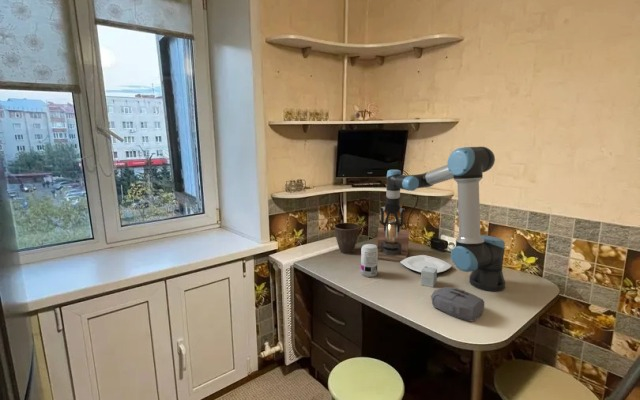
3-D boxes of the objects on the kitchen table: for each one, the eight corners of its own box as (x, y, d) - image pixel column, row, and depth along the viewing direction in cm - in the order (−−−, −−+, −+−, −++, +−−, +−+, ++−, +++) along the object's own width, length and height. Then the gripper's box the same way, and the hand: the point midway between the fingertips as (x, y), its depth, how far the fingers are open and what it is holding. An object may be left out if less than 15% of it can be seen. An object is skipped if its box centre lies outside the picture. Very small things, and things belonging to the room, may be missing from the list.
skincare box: (433, 287, 159) (434, 272, 157) (420, 284, 162) (421, 270, 161) (436, 282, 164) (437, 268, 162) (423, 280, 167) (424, 265, 166)
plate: (457, 269, 179) (458, 266, 178) (427, 280, 167) (428, 276, 166) (423, 256, 198) (423, 252, 197) (393, 264, 186) (394, 261, 185)
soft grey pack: (487, 312, 138) (441, 295, 152) (489, 293, 136) (442, 277, 150) (471, 327, 128) (423, 307, 142) (473, 306, 126) (424, 288, 140)
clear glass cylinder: (395, 253, 196) (396, 222, 192) (385, 252, 198) (386, 222, 194) (396, 250, 201) (397, 220, 197) (387, 249, 203) (388, 219, 199)
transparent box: (405, 262, 188) (406, 239, 186) (372, 258, 194) (373, 236, 191) (408, 251, 205) (409, 230, 202) (378, 248, 211) (378, 227, 208)
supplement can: (357, 274, 174) (358, 246, 171) (367, 269, 180) (367, 242, 177) (370, 279, 168) (371, 250, 165) (380, 273, 174) (381, 245, 171)
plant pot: (345, 245, 216) (345, 221, 213) (364, 251, 206) (364, 225, 203) (329, 251, 206) (329, 226, 203) (348, 258, 196) (348, 231, 193)
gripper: (410, 197, 193) (408, 236, 198) (378, 195, 199) (377, 233, 204) (408, 199, 186) (406, 240, 191) (375, 197, 192) (374, 237, 197)
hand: (391, 236), depth 197 cm, fingers closed on clear glass cylinder, 5 cm apart
